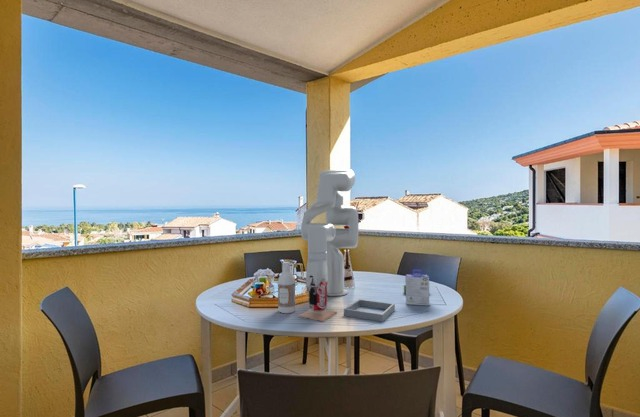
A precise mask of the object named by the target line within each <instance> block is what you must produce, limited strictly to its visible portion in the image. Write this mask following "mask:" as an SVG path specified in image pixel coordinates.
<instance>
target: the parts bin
mask: <svg viewBox="0 0 640 417" xmlns="http://www.w3.org/2000/svg"><path fill="white" fill-rule="evenodd" d="M359 307H366V308H367V307H368V308H374V309H380V310H384V311H383V312H381V313H379V312H370V311H365V310H364V311H363V310H357V309H358V308H359ZM395 307H396V305H395V303H392V302H382V301H374V300H367V299H357V300H356V301H354V302H353V303H351V304H350V305H348V306H347V307H345V308H344V309H343V316H345V317H351V318H357V319H365V320H370V321H371V320H372V321H377V322H381V323H382V322H385V320H386V319H387V318H388V317H389V316H390V315H392V313H393V312H395V310H396V308H395Z"/></svg>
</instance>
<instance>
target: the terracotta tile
mask: <svg viewBox="0 0 640 417" xmlns="http://www.w3.org/2000/svg"><path fill="white" fill-rule="evenodd" d="M336 314H338V312H337V310H331V309H325V310H324V311H321V312H315V311H312V310H311V309H310V308H309V309H307V310H305V311H303V312H302V313H300V314H298V318H300V317H305V318H304V319H306V318H310V319H309V320H311V319H316V320H315V321H317V320H321V321H320V322H323V321H324V322H326V321H328V320H329V319H330V318H333V316H336ZM328 318H329V319H328ZM325 320H326V321H325Z"/></svg>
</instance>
